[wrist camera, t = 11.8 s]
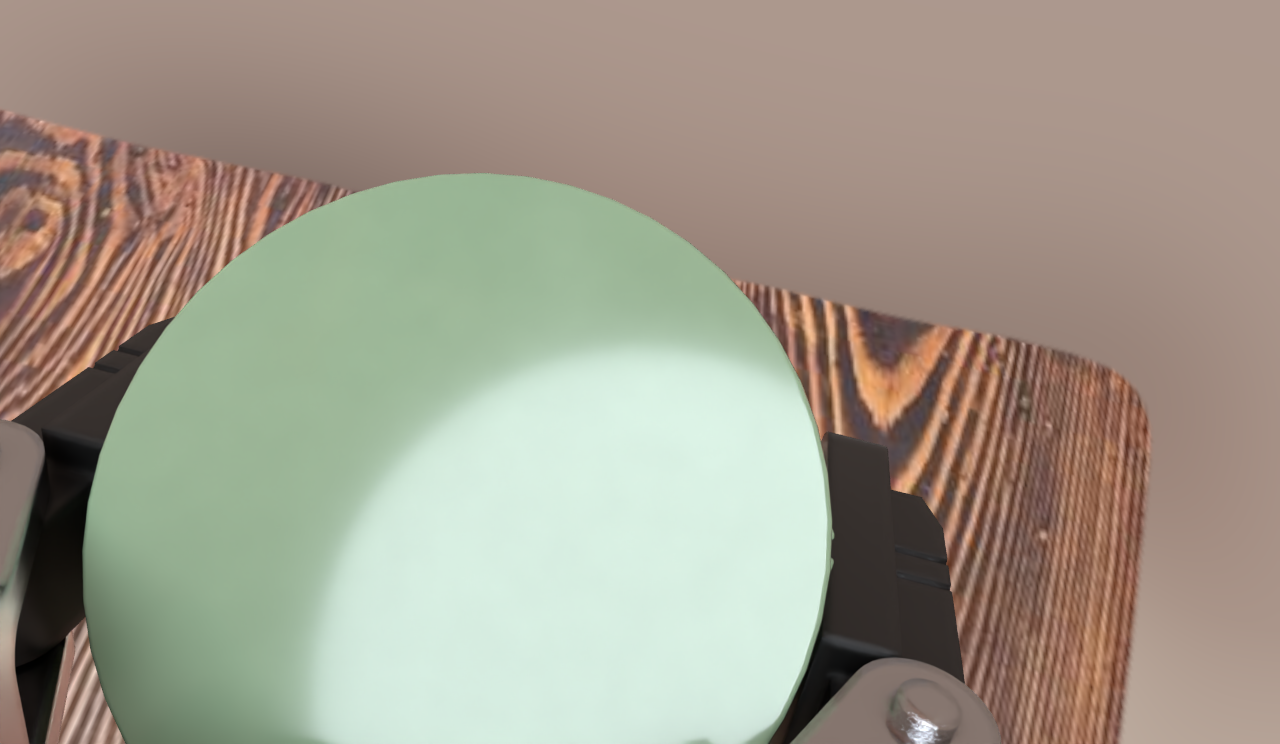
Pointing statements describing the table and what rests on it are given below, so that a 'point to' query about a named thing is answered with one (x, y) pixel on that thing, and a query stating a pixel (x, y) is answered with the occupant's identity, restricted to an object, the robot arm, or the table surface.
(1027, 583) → the table surface
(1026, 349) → the table surface
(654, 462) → the green grooved cylinder
